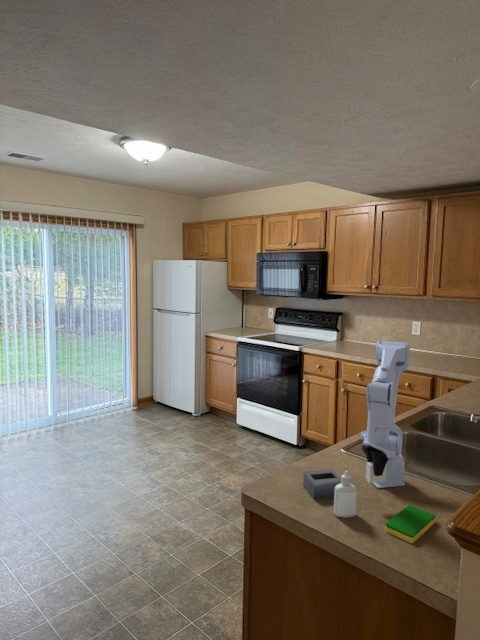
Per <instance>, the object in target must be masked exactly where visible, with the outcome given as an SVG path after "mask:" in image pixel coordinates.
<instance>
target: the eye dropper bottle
mask: <svg viewBox="0 0 480 640" xmlns="http://www.w3.org/2000/svg"><path fill="white" fill-rule="evenodd" d="M340 478H341V483H340V484H338V485H336V486H335V492H334V497H333V514H334V515H335V516H336V517H337V518H352V517H355V516H356V514H357V513H356V512H357V496H358V495H357V494H358V493H357V492H358V491H357V489H358V488H357V487H356V486H355V485H354V484H352V476H351V475H349V470H345V471H344V474H342V475H341V477H340Z"/></svg>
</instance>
